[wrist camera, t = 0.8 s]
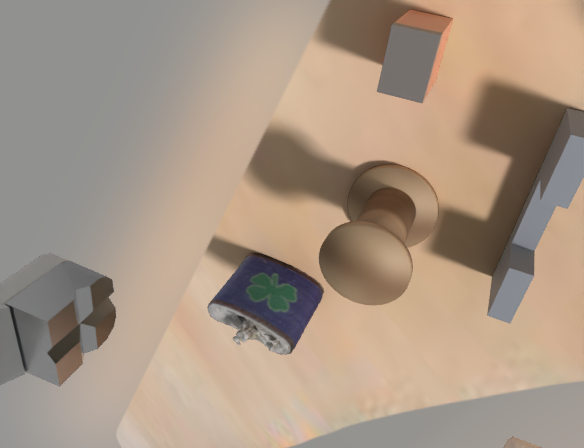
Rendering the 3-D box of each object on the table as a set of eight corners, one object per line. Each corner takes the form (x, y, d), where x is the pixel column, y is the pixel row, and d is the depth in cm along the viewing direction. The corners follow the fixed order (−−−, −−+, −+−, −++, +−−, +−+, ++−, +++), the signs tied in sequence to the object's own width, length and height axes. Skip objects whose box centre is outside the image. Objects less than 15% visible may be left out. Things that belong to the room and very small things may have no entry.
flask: (245, 264, 57) (194, 327, 49) (250, 245, 56) (199, 306, 47) (320, 302, 56) (282, 374, 47) (329, 283, 54) (290, 354, 46)
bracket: (567, 107, 38) (570, 134, 33) (593, 114, 37) (601, 142, 33) (492, 276, 47) (487, 315, 42) (512, 283, 46) (510, 323, 42)
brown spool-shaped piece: (359, 153, 46) (321, 206, 38) (450, 179, 44) (430, 241, 36) (343, 228, 50) (306, 289, 42) (424, 255, 48) (402, 324, 40)
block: (409, 9, 38) (391, 24, 34) (453, 18, 38) (440, 35, 33) (395, 69, 41) (376, 91, 36) (436, 79, 40) (422, 103, 35)
